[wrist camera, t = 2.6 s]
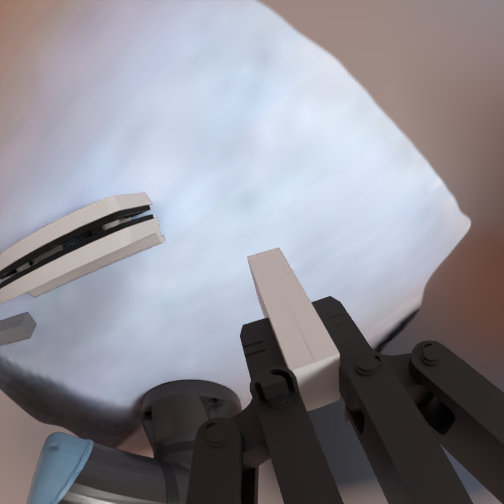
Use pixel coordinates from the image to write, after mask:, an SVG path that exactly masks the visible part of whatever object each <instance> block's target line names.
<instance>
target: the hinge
mask: <svg viewBox="0 0 504 504" xmlns="http://www.w3.org/2000/svg"><path fill="white" fill-rule="evenodd" d="M151 204H153V203H152V202H151V200H150V199H149V197H148V196H147V194H146V193H135V194H125V195H115V196H111V197H107V198H105V199H103V200H100V201H98V202H95V203H93V204H91V205H88V206H86V207H84V208H82V209H79V210H77V211H75V212H73V213H71V214H69V215H67V216H65V217H63V218H61V219H59V220H57V221H55V222H53V223H51V224H49V225H47V226H45V227H43V228H41V229H40V230H38V231H36V232H34V233H32V234H31V235H29V236H27V237H26V238H24V239H22V240H21V241H19V242H17V243H16V244H14V245H13V246H11V247H10V248H8V249H7V250H5V251H4V252H2V253H1V254H0V279H3V278H5V277H8V276H10V275H13V274H15V273H17V274H15V275H14V276H12V277H10V278H9V279H7V280H5V281H4V282H2V283H0V302H1V303H2V304H3V303H5V302H7V301H9V300H11V299H13V298H15V297H17V296H19V295H21V294H23V293H25V292H27V291H28V292H29V293H30V294H31V295H32V296H34V297H37V296H39V295H41V294H44V293H46V292H48V291H50V290H52V289H55V288H57V287H59V286H61V285H63V284H66V283H68V282H70V281H72V280H75V279H77V278H79V277H82V276H84V275H86V274H88V273H91V272H93V271H95V270H98V269H100V268H102V267H105V266H107V265H109V264H112V263H114V262H117V261H119V260H121V259H124V258H126V257H128V256H131V255H133V254H136V253H138V252H141V251H143V250H145V249H148V248H150V247H153V246H155V245H158V244H160V243H163V242H164V241H165V240H166V239H165V236H161V232H160V227H159V222H158V217H157V218H154V217H153V215H152V214H151V215H148V216H144V217H141V218H137V219H134V220H131V217H134V216H136V215H139V214H141V213H143V212H146V211H148V210H150V207H149V205H151ZM88 231H90V232H92V233H93V236H91V237H89V238H86V239H84V240H82V241H80V242H78V243H75V244H73V245H71V246H69V247H67V248H65V249H63V244H64V243H66V242H68V241H70V240H72V239H74V238H76V237H78V236H80V235H82V234H84V233H86V232H88ZM32 262H34V263H35V264H32Z"/></svg>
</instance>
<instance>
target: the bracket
mask: <svg viewBox="0 0 504 504" xmlns="http://www.w3.org/2000/svg"><path fill="white" fill-rule="evenodd" d="M35 326H36V323H35V322H34V320H33V319H32V317H31V316H30V315H29V313H28V312H26V313H23V314H20V315H17V316H14V317H10V318H7V319H4V320H1V321H0V346H2V345H6V344H10V343H14V342H18V341H21V340H25V339H29V338H31V335H32V333H33V331H34V329H35Z"/></svg>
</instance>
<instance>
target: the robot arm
mask: <svg viewBox="0 0 504 504" xmlns="http://www.w3.org/2000/svg"><path fill="white" fill-rule="evenodd" d="M247 259H248V263H249V266H250V270H251V274H252V277H253V281H254V285H255V288H256V292H257V295H258V299H259V303H260V305H261V308H262V311H263V314H264V317H265V318H264V319H261V320H258V321H255V322H251V323H248V324H245V325H243V326H242V330H241V334H240V338H241V342H242V346H243V350H244V354H245V358H246V362H247V366H248V370H249V374H250V378H251V383H250V392H251V395H252V397H253V398H252V400H251V402H250V404H249V405H248V406H247V407H246V408H245V409H244V410H243V411H242V407H241V403H240V399H239V397H238V396H237V395H236V393H234V392H233V391H232V390H231V389H229V388H227V387H225V386H223V385H220V384H217V383H213V382H208V381H201V380H183V381H175V382H170V383H166V384H163V385H160V386H158V387H156V388H154V389H152V390H151V391H149V392H148V393H147V394H146V395H145V396H144V398H143V400H142V402H141V421H142V424H143V427H144V429H145V432H146V435H147V437H148V440H149V442H150V445H151V447H152V450H153V455H154V458H150V457H146V456H142V455H137V454H133V453H129V452H126V451H122V450H118V449H115V448H111V447H108V446H105V445H101V444H98V443H95V442H93V441H92V440H90V439H86V440H85V439H82V438H78V437H75V436H72V435H68V434H66V433H61V432H55V433H52V434H51V435H49V436H48V438H47V439H46V441H45V443H44V446H43V448H42V451H41V454H40V457H39V460H38V463H37V466H36V469H35V472H34V475H33V479H32V482H31V487H30V491H29V495H28V498H27V503H26V504H258V471H259V465H260V464H262V463H264V462H265V461H267V460H268V459H270V458H271V460H272V464H273V467H274V471H275V474H276V477H277V481H278V484H279V487H280V491H281V494H282V497H283V501H284V504H344V503H343V501H342V498H341V496H340V493H339V491H338V488H337V486H336V483H335V481H334V478H333V476H332V473H331V471H330V468H329V466H328V463H327V461H326V458H325V456H324V453H323V451H322V448H321V446H320V443H319V441H318V438H317V436H316V433H315V430H314V428H313V425H312V423H311V420H310V418H309V415H308V413H307V411H310V410H313V409H316V408H319V407H322V406H324V405H327V404H330V403H332V402H335V401H338V400H340V393H341V395H342V397H343V399H344V401H345V420H346V421H348V420H350V422H351V424H352V426H353V428H354V430H355V432H356V434H357V437H358V439H359V441H360V443H361V445H362V447H363V449H364V451H365V454H366V456H367V458H368V460H369V462H370V464H371V466H372V469H373V471H374V473H375V475H376V477H377V480H378V482H379V484H380V486H381V488H382V490H383V492H384V495H385V497H386V499H387V501H388V503H389V504H473V503H472V501H471V499H470V497H469V495H468V493H467V491H466V490H465V488H464V486H463V484H462V482H461V480H460V479H459V477H458V475H457V473H456V472H455V470H454V468H453V466H452V465H451V463H450V461H449V459H448V458H447V456H446V454H445V452H444V451H443V449H442V447H441V446H440V444H441V445H442V446H443V447H444V448H445V449H446V450H447V451H448V452H449V453H450V454H451V455H452V456H453V457H454V458H455V459H456V460H457V461H458V462H460V463H461V464H462V465H463V466H464V467H465V468H466V469H467V470H468V471H469V472H470V473H471V474H472V475H473V476H474V477H475V478H476V479H477V480H478V481H479V482H480V483H481V484H482V485H483V486H484V487H486V488H487V489H488V490H489V491H490V492H491V493H492V494H493V495H494V496H495V497H496V498H497V499H498V500H499V501H500V502H501V503H502V504H504V393H503V392H502V391H501V390H499V389H498V388H497V387H496V386H495V385H493V384H492V383H491V382H490V381H488V380H487V379H486V378H485V377H483V376H482V375H480V374H479V373H478V372H477V371H476V370H475V369H473V368H472V367H471V366H469V365H468V364H467V363H466V362H464V361H463V360H462V359H460V358H459V357H458V356H457V355H455V354H454V353H453V352H452V351H450V350H449V349H448V348H446V347H445V346H444V345H442V344H440V343H439V342H437V341H430V340H429V341H423V342H421V343H419V344H417V345H416V346H415V347H414V349H413V350H412V353H409V354H403V355H396V356H387V355H382V354H381V353H379V352H377V351H374V350H373V349H372V348H371V347H370V345H369V344H368V342H367V341H366V339H365V338H364V336H363V335H362V333H361V332H360V330H359V329H358V327H357V326H356V324H355V323H354V321H353V320H352V318H351V317H350V315H349V314H348V313H347V311H346V309H345V308H344V307H343V305H342V304H341V302H339V301H338V300H336V299H334V298H333V297H331V296H329V297H326V298H323V299H320V300H317V301H314V302H310V300H309V298H308V296H307V295H306V293H305V291H304V289H303V288H302V286H301V284H300V282H299V281H298V279H297V277H296V275H295V274H294V272H293V270H292V269H291V267H290V265H289V263H288V262H287V260H286V258H285V257H284V255H283V253H282V251H281V250H280V248H279V247H278V248H275V249H272V250H268V251H265V252H262V253H258V254H255V255H252V256H248V257H247ZM439 443H440V444H439Z"/></svg>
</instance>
